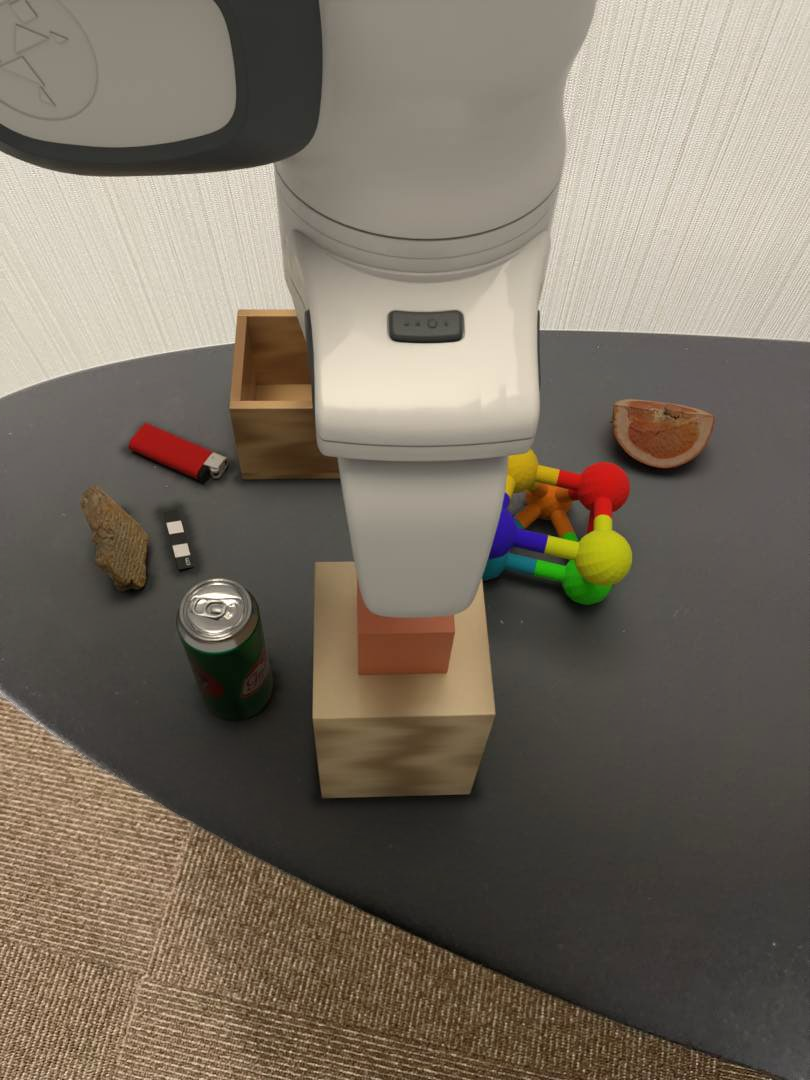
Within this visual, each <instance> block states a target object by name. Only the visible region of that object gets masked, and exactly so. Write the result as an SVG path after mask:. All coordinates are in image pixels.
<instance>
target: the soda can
mask: <svg viewBox="0 0 810 1080" xmlns="http://www.w3.org/2000/svg"><path fill="white" fill-rule="evenodd" d="M175 617H176V618H175V625H176V629H177V630H176V631H177V633H178V636H179V638H180V641H181V644H182V647H183V649H184V652H185V656H186V658H187V660H188V664H189V666H190V669H191V671H192V675H193V677H194V680H195V681H196V682H195V683H196V685H197V688H198V691H199V693H200V696H201V698H202V701H203V703H204V705H205V707H206V708H207V709H208V711H210V712H211V714H213V715H215V716H217V717H219V718H221V719H225V720H229V721H230V720H231V721H239V720H243V719H247V718H250V717H252V716H255V715H256V714H257V713H259V712H261V711H262V710H263V708H265V706H266V705H267V704H268V703H269V701H270V699H271V696H272V694H273V691H274V678H273V672H272V667H271V663H270V658H269V652H268V648H267V641H266V637H265V631H264V627H263V621H262V617H261V612H260V607H259V604H258V602H257V599H256V598H255V596H254V595H253V594H252V593H251V592H250V590H248V589H247V588H246V587H244V586H242V585H241V584H240V583H238V582H236V581H234V580H231V579H227V578H223V577H222V578H221V577H218V578H217V577H215V578H209V579H206V580H203V581H200V582H198V583H197V584H195V585H193V586H192V587H191V588H190V589H189V590H188V591H187V592H186V593H185V595H184V596H183V598H182V600H181V602H180V605H179V606H178V610H177V612H176V616H175Z"/></svg>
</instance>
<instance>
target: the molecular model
mask: <svg viewBox="0 0 810 1080" xmlns="http://www.w3.org/2000/svg"><path fill="white" fill-rule="evenodd" d="M524 492H525V502H526V506H525V507H524V508H523V509H522V510H520V511H519V512H518V513H517V514H516V515H515V516H514V515H513V514H512V513H511V511H510V510H508V509H509V508H510V504H511V502H512V498H513V495H514V494H519V493H524ZM630 493H631V483H630V479H629V477H628V475H627V473H626V472H625V470H624V469H623V468H621V467H620V466H619V465H617V464H615V463H613V462H607V461H598V462H595V463H593V464H590V465H589V466H586V467H585V468H584V469H583V470H582V472H581V473H578V472H573V471H568V470H563V469H559V468H556V467H555V468H554V467H551V466H546V465H541V464H540V463H539V459H538V457H537V455H536V454H535V452H534V451H533V449H532V448H531V449H530V450H529V451H528V452H527V453H525V454H518V455H510V456H508V471H507V479H506V487H505V494H504V500H503V505H502V510H501V514H500V518H499V522H498V526H497V529H496V533H495V536H494V540H493V543H492V547H491V550H490V554H489V557H488V560H487V564H486V567H485V570H484V573H483V576H482V581H489V580H492V579H495V578H497V577H498V576H500V575H501V573H502V572H504V571H505V570H508V571H512V572H516V573H521V574H524V575H525V574H526V575H529V576H534V577H538V578H543V579H547V580H551V581H554V582H555V581H556V582H559V583H561V586H562V589H563V591H564V593H565V595H566V596H567V597H568V598H569V599H570V600H572V601H573V602H575V603H577V604H581V605H584V606H590V605H593V604H596V603H600V602H602V601H604V599H605V598H606V597H607V596H609V594H610V592H611V590H612V587H613V585H616V584H618V583H619V582H621V581H622V580H623V579H624V578H625V577H626V576H627V575H628V573H629V572H630V570H631V567H632V564H633V551H632V548H631V545H630V543H629V542H628V541H627V539H626V538H625V537H624V536H622V534H620V533H619V532H617V531H615V530H613V513H615V512H618V510H620V509H621V508H622V507H623V506H624V505H625V504H626V502H627V500H628V499H629V497H630V496H629V495H630ZM575 501H579V502H580V504H581V505H582V506H583V507H584V508H585V509H586V510H587V511H589V516H588V522H587V526H586V527H587V528H586V533H585V535H583V536H582V537H581V538H580V540H579V539H578V536H577V534H576V532H575V529H574V527H573V526H572V523H571V521H570V518H569V517H568V514H567V513H568V512H569V511H570V510H571V508H572V505H573V503H574V502H575ZM538 518H539V519H541V520H545V521H551V523H552V525H553V527H554V530H555V532H556V534H557V536H558V537H557V536H552V535H549V534H544V533H541V532H535V531H531V530H527V528H528V527H529V526H531V524H533V522H535V521H536V520H537V519H538ZM513 548H518V549H523V550H527V551H531V552H535V553H540V554H543V555H549V556H553V557H557V558H562V559H566V560H568V562H567V563H566V565H562V564H558V563H554V562H550V561H546V560H541V559H538V558H533V557H528V556H524V555H520V554H515V553H511V552H510V551H511V550H512V549H513Z"/></svg>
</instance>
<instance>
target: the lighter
mask: <svg viewBox="0 0 810 1080" xmlns="http://www.w3.org/2000/svg"><path fill="white" fill-rule="evenodd" d="M128 449H129V450H130V451H132V452H134V453H137V454H139V455H141V456H143V457H146V458H147V459H150V460H152V461H155V462H157V463H159V464H162V465H164V466H166V467H168V468H170V469H173V470H174V471H177V472H179V473H182V474H184V475H186V476H188V477H191V478H193V479H195V480H198V481H201V482H202V483H205V482H207V481H208V480H209V478H211V476H212V478H213V479H219V478H221V476H222V475H223V474H224V472H225V471H226V470H227V468H228V466H229V463H230V462H229V458H228V457H227V456H224V455H221V454H219V453H217V452H215V451H212V450H210V449H208V448H205V447H203V446H200V445H199V444H196V443H194V442H192V441H189V440H186V439H185V438H183V437H180V436H178V435H175V434H173V433H170V432H169V431H166V430H163V429H161V428H160V427H158V426H154V425H152V424H150V423H148V422H145V423H144V424H143V425H142V426H140V428H139V429H138V430H137V431H136V432H135V434H134V435H133V436H132V437H131V438H130V440H129V442H128Z"/></svg>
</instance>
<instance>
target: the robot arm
mask: <svg viewBox="0 0 810 1080" xmlns="http://www.w3.org/2000/svg"><path fill="white" fill-rule="evenodd" d="M597 3H598V0H0V152H2V153H3V154H5V155H8V156H10V157H12V158H14V159H17V160H19V161H22V162H24V163H27V164H30V165H32V166H36V167H39V168H41V169H45V170H50V171H53V172H58V173H62V174H69V175H75V176H84V177H102V178H103V177H104V178H106V177H107V178H108V177H109V178H110V177H112V178H113V177H114V178H115V177H116V178H121V177H122V178H126V177H158V176H160V177H161V176H163V177H164V176H180V175H181V176H182V175H198V174H208V173H209V174H211V173H219V172H220V173H221V172H230V171H237V170H246V169H252V168H257V167H263V166H267V165H271V164H273V174H274V175H273V176H274V177H273V178H274V184H275V196H276V208H277V217H278V227H279V228H278V229H279V238H280V247H281V258H282V267H283V275H284V280H285V283H286V284H285V285H286V287H287V289H288V292H289V294H290V296H291V300H292V303H293V307H294V308H293V309H294V310H295V311H296V314H297V318H298V321H299V323H300V326H301V329H302V332H303V335H304V337H305V340H306V345H307V354H308V360H309V365H310V371H311V389H312V406H313V418H314V421H315V424H316V438H317V445H318V448H319V450H320V452H321V453H322V454H323V455H325V456H331V457H337V458H338V466H339V473H340V479H339V480H340V488H341V494H342V499H343V506H344V511H345V518H346V523H347V530H348V535H349V541H350V545H351V546H350V547H351V552H352V557H353V562H354V563H355V568H356V573H357V578H358V583H359V589H360V592H361V596H362V599H363V602H364V604H365V606H366V607H367V609H368V610H369V611H371V612H372V613H374V614H376V615H379V616H384V617H394V618H428V617H442V616H450V615H455V614H458V613H461V612H463V611H465V610H466V609H467V608H468V607H469V606H470V605H471V604H472V602H473V600H474V598H475V596H476V593H477V591H478V588H479V585H480V582H481V579H482V576H483V573H484V570H485V567H486V564H487V560H488V557H489V554H490V550H491V547H492V543H493V540H494V536H495V533H496V529H497V526H498V522H499V518H500V514H501V510H502V505H503V500H504V494H505V487H506V479H507V471H508V456H510V455H518V454H525V453H527V452H528V451H529V450H530V449H532V448H533V445H534V442H535V438H536V436H537V435H536V434H537V430H538V426H539V421H540V413H541V396H540V393H541V384H542V383H541V381H542V380H541V379H542V377H541V376H542V375H541V344H540V340H541V339H540V333H541V332H540V331H541V328H540V327H541V312H540V310H539V304H540V300H541V297H542V292H543V288H544V285H545V280H546V279H545V278H546V273H547V269H548V265H549V260H550V253H551V249H552V239H551V238H552V237H551V232H552V228H553V227H552V226H553V222H554V216H555V212H556V207H557V202H558V197H559V191H560V187H561V186H560V185H561V183H562V177H563V172H564V167H565V162H566V153H567V127H566V126H567V125H566V119H565V110H564V108H565V107H564V106H565V105H564V98H565V90H566V85H567V80H568V77H569V75H570V72H571V69H572V67H573V65H574V63H575V60H576V58H577V57H578V54H579V53H580V51H581V49H582V47H583V45H584V43H585V41H586V39H587V37H588V34H589V31H590V28H591V26H592V24H593V20H594V16H595V12H596V8H597Z"/></svg>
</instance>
